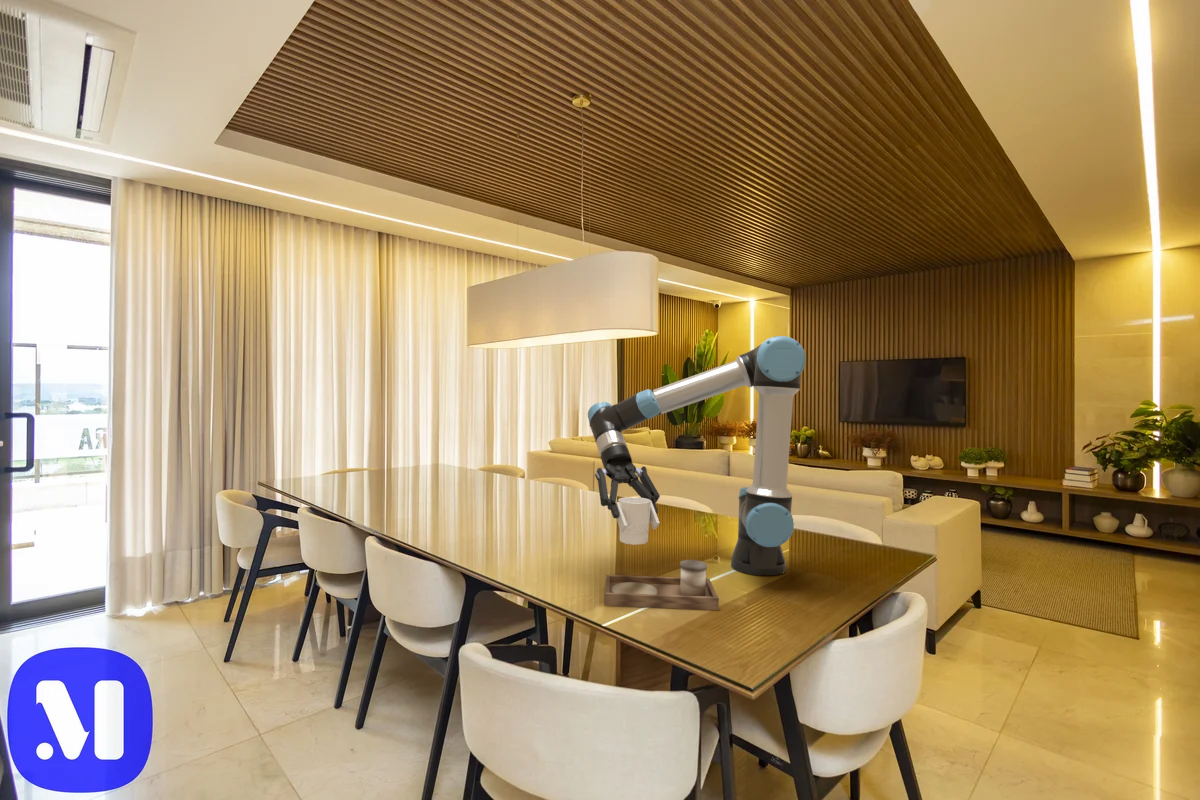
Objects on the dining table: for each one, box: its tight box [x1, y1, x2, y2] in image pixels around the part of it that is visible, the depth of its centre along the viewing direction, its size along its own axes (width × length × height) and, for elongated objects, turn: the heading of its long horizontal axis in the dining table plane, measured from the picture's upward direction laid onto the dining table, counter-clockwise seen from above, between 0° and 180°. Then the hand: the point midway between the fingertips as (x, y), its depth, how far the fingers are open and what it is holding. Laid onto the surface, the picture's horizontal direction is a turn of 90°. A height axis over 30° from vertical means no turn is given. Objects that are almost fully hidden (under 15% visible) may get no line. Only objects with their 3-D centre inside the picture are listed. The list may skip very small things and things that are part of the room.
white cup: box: [617, 496, 651, 546], centre depth 139 cm, size 8×8×10 cm
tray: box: [604, 559, 720, 611], centre depth 138 cm, size 26×14×8 cm, turn 88°
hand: (640, 527), depth 136 cm, fingers closed on white cup, 8 cm apart
